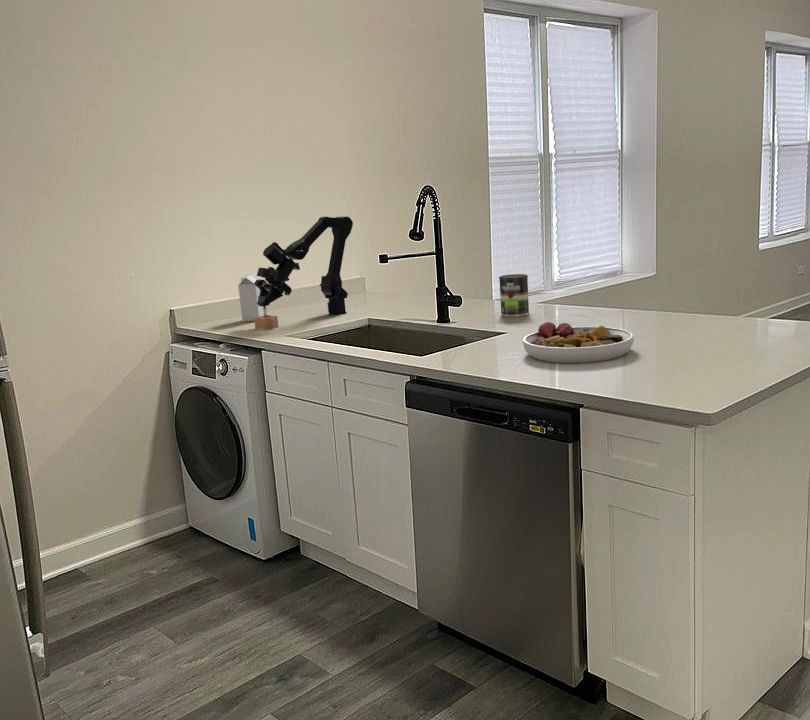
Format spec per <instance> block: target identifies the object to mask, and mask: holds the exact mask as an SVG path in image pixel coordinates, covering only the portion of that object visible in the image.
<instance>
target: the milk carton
mask: <svg viewBox="0 0 810 720" xmlns="http://www.w3.org/2000/svg"><path fill="white" fill-rule="evenodd" d="M256 280H258V279H257V278H255V277H254V276H253V275H252V274H251V272H249V273H246V274H245V276H243V277H241V278H240V283H239V284H238V288H237V289H238V296H239V303H240V304H239V305H240V311H241V321H242V323H243V322H246V321H247V322H254V317H259V316H264V310H263V306H259V305H258V304H257V302H258V296H259V294H260V289H259V288H258V287H257V286H255V285H254V283H255V281H256Z"/></svg>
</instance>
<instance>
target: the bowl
mask: <svg viewBox="0 0 810 720" xmlns="http://www.w3.org/2000/svg"><path fill="white" fill-rule="evenodd" d="M537 330H538V331H536V332H533V333H529V334H527V335H525V336H524V337H523V338H522V345H523V349H524V351H525V352H526V353H527V354H528V355H529V356H530V357H532V358H533V359H536V360H538V361H542V362H547V363H553V364H554V363H555V364H588V363H598V362H604V361H611V360H613V359H617V358H619V357H622V356H623V355H625V354H626V353H628V352H629V351H630V350H631V348H633V347H632V346H633V344H634V333H632V332H631V331H629V330H626V329H622V328H616V327H607V326H604V325H600V326H571V324H569V323H567V322H561V323H559V325H557V326H556V324H555V323H553V322H550V321H547V322H544V323H542V324H541V325H539V326H538V329H537Z"/></svg>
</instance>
